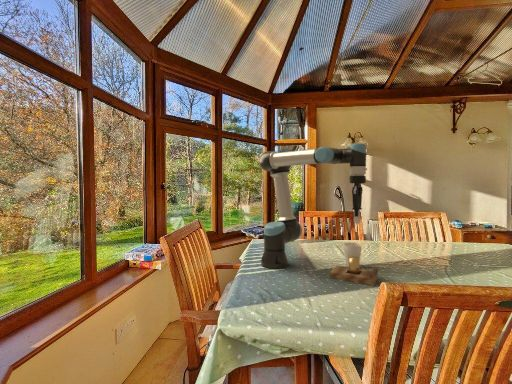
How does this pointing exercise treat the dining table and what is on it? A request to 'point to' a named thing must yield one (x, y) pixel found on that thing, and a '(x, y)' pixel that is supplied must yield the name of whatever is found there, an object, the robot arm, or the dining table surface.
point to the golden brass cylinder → (354, 265)
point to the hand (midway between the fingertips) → (356, 222)
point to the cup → (351, 251)
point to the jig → (355, 275)
